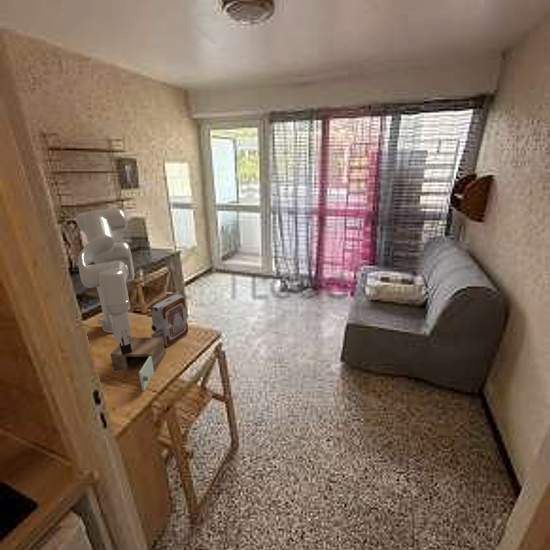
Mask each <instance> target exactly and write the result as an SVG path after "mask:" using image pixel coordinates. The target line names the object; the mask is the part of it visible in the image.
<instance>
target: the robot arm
mask: <svg viewBox="0 0 550 550" xmlns="http://www.w3.org/2000/svg"><path fill="white" fill-rule="evenodd" d="M75 222H76V225H77V226H78V228H79V229H80V231H82V232H83V233H84V235H85V236H86V238H87V240H88V242H87V243H86V244H85V246H83V247H82V249H81V251H80V252H79V255H78V258H77V265H78V266H77V267H78V271H79V276H80V280H81V284H82V285H83V286H84V287H86V288H89V289H93V288H96V289H97V293H98V296H99V300H100V305H101V310H102V314H103V317H99V318H98V319H97V324H98V325H102V331H103V332H104V333H108V334H112V335H113V337H114V340H115V342H116V343H119V344H120V348H121V353H122V355H125V354H128V353H131V352H132V349H131V344H130V341H129V338H130V339H131V338H133V335H132V329H131V324H132V322H131V320H130V318H129V313H128V311H130V310H131V304H130V303H131V301H130V298H129V292H128V287H127V283H129V282H132V281H133V280H134V279H135V268H134V262H133V256H132V251H131V247H130V245H129V243H128V242H125V241H116V238H115V235H114V232H117V231H126V230H127V229H128V225H129V224H128V217H127V215H126V213H125V211H124V210H123V209H121V208H116V207H115V208H108V209H107V208H104V209H95V210H91V211H86V212H81V213H79V214H77V215H76V217H75ZM92 262H93V263H94V264H90V263H92ZM119 344H118V345H119Z"/></svg>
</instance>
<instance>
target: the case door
mask: <svg viewBox="0 0 550 550" xmlns="http://www.w3.org/2000/svg"><path fill="white" fill-rule="evenodd" d="M154 374H155V372H154V368H153V362H152V357H151V356H149V358H148V359H147V361H146V362H145V364H144V365H143V367H142V369H141V370H140V372H138V375H139V381H140V384H141V390H142V391H145V390H146V388H147V387H148V385H149V383H150V381H151V379H152V378H153V376H154Z"/></svg>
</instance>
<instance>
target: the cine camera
mask: <svg viewBox="0 0 550 550" xmlns="http://www.w3.org/2000/svg"><path fill="white" fill-rule="evenodd" d="M149 308H150V314H151V315H150V316H151V320H152V324H151V327H150V328H151V330H152V331H153V333H152V334H151V338H163V341H164V347H165V346H166V347H170V346H172V345H173V344H174V343H176V342H177V341H179V340H181V339H182V338H183V337H185V336H186V335H187V334H188V333H189V326H188V317H187V315H188V314H187V309H186V300H185V297H184V296H183V295H182V294H180V295H179V294H175V293H174V294H173V293H171V294H169V295H166V296H165V297H162V298H159V300H156V301H154V302H152V303H151V304H150V307H149Z"/></svg>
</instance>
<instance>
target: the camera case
mask: <svg viewBox="0 0 550 550" xmlns="http://www.w3.org/2000/svg"><path fill="white" fill-rule="evenodd" d="M129 341H130V344H131V349H132V352H131V353H128V354H125V355H122V353H121V348H120V344H117V346H116V347H115V348H114V349H113V350H112V351H111V353H110V360H111V364H112V367H113V372H114V371H118V372H117V373H121V372H123V373H127V372H128V373H130V372H131V373H133V372H134V373H139V372H140V370H141V369H142V367H143V365H144V364H145V362H146V361H147V359H148V358H149V356H151V357H152V362H153V368H154V373H155V372H156V371H157V369H158V367H159V366H158V365H161V362H162V360H163V359H164V358H165V356H166V349H165V345H164V341H163V338H152V337H132V338H131V339H130V338H129ZM164 355H165V356H164Z"/></svg>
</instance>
